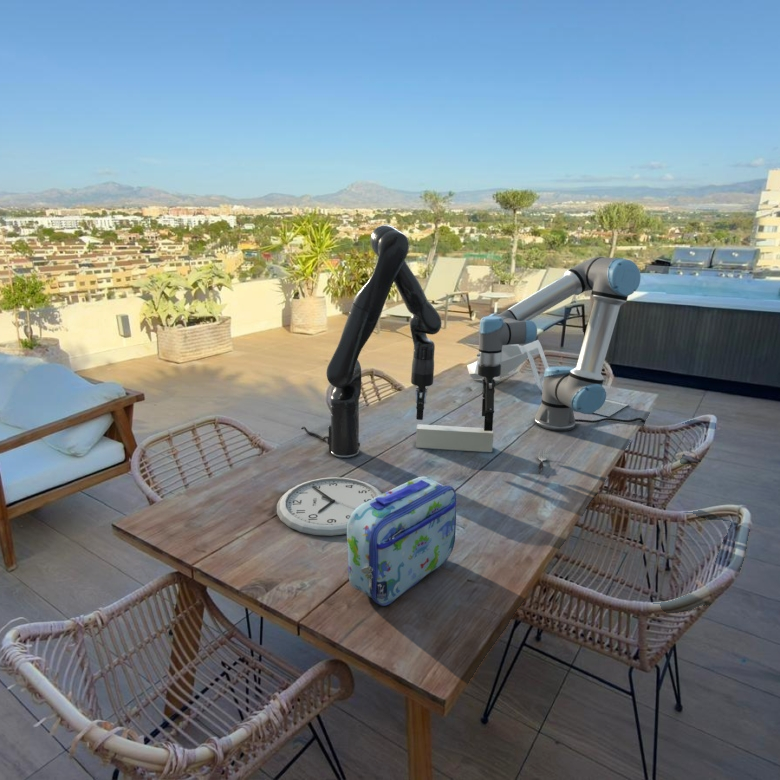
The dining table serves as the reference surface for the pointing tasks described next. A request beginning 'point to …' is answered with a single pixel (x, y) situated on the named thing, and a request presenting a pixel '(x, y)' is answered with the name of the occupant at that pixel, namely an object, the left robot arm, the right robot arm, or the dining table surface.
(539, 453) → the fork
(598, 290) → the right robot arm
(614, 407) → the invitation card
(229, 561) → the dining table surface
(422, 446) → the beam
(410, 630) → the dining table surface
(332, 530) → the wall clock
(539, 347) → the white plastic object
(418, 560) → the lunch box
